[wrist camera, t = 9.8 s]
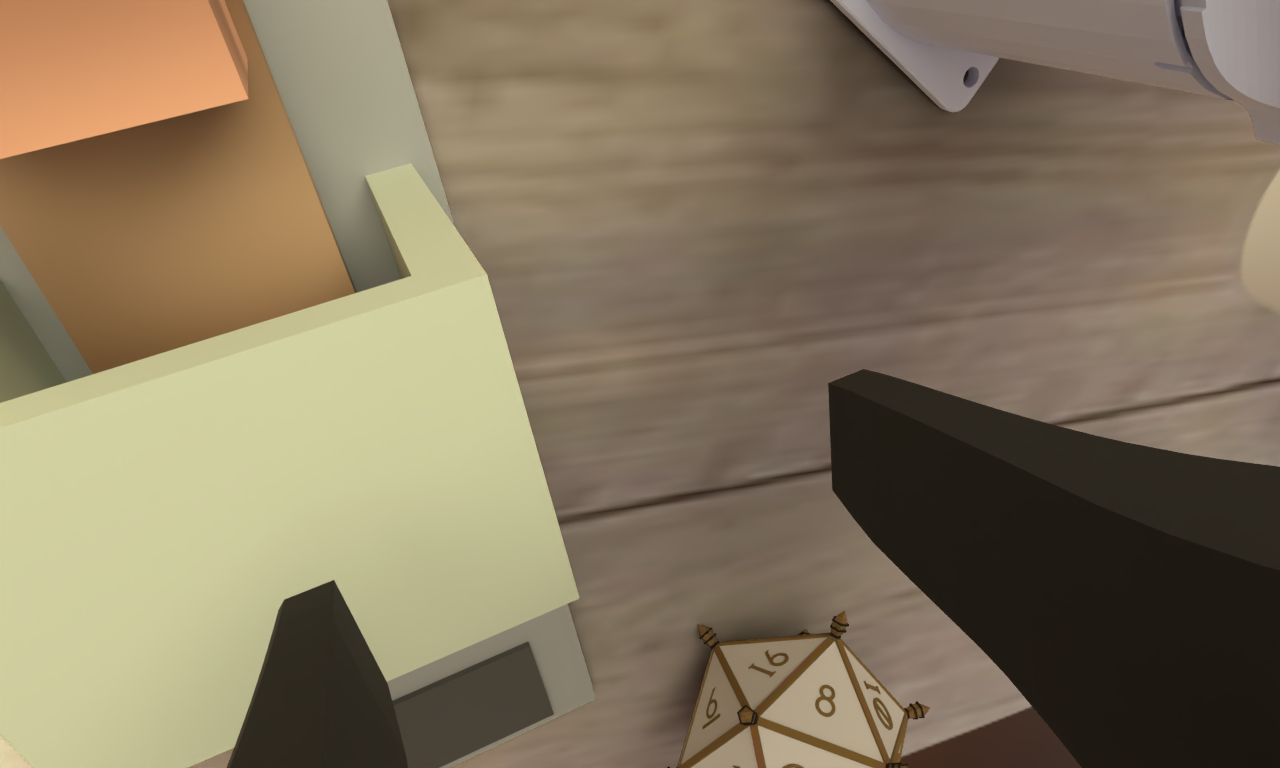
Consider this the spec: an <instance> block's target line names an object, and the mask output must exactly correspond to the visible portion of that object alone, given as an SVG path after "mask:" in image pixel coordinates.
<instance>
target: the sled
mask: <svg viewBox="0 0 1280 768" xmlns="http://www.w3.org/2000/svg"><path fill="white" fill-rule="evenodd" d="M0 226H1V227H2V229H3V230H4V232H5V234H6V235H7V237H8V238H9V240H10V242H11V243H12V245H13V246H14V248H15V250H16V251H17V253H18V254H19V256H20V258H21V259H22V261H23V262H24V264H25V266H26V267H27V269H28V271H29V272H30V274H31V275H32V277H33V279H34V280H35V282H36V283H37V285H38V287H39V288H40V290H41V291H42V293H43V295H44V296H45V298H46V299H47V301H48V303H49V304H50V306H51V307H52V309H53V311H54V312H55V314H56V315H57V317H58V319H59V320H60V322H61V323H62V325H63V327H64V328H65V330H66V331H67V333H68V335H69V336H70V338H71V339H72V341H73V343H74V344H75V346H76V347H77V349H78V351H79V352H80V354H81V355H82V357H83V359H84V360H85V362H86V363H87V365H88V367H89V368H90V370H91V371H92V373H93V374H96V373H99V372H102V371H105V370H109V369H112V368H115V367H118V366H122V365H125V364H128V363H131V362H135V361H138V360H141V359H144V358H148V357H151V356H154V355H157V354H160V353H164V352H167V351H170V350H173V349H177V348H180V347H183V346H186V345H190V344H193V343H196V342H199V341H202V340H206V339H209V338H212V337H215V336H219V335H222V334H225V333H228V332H232V331H235V330H238V329H241V328H245V327H248V326H251V325H254V324H257V323H261V322H264V321H267V320H270V319H274V318H277V317H280V316H283V315H287V314H290V313H293V312H296V311H300V310H303V309H306V308H309V307H312V306H316V305H319V304H322V303H325V302H329V301H332V300H335V299H338V298H342V297H345V296H348V295H351V294H355V293H357V292H356V289H355V287H354V284H353V281H352V279H351V276H350V274H349V271H348V269H347V266H346V263H345V261H344V258H343V256H342V253H341V251H340V248H339V245H338V243H337V240H336V238H335V235H334V233H333V230H332V227H331V225H330V222H329V220H328V217H327V214H326V212H325V209H324V207H323V204H322V202H321V199H320V196H319V194H318V191H317V189H316V186H315V184H314V181H313V178H312V176H311V173H310V171H309V168H308V166H307V163H306V160H305V158H304V155H303V153H302V150H301V147H300V145H299V142H298V140H297V137H296V135H295V132H294V129H293V127H292V124H291V122H290V119H289V117H288V114H287V111H286V109H285V106H284V104H283V101H282V99H281V96H280V93H279V91H278V88H277V86H276V83H275V80H274V78H273V75H272V73H271V70H270V68H269V65H268V62H267V60H266V57H265V55H264V52H263V50H262V47H261V44H260V42H259V39H258V37H257V34H256V32H255V29H254V26H253V24H252V21H251V19H250V16H249V13H248V11H247V8H246V6H245V3H244V1H243V0H0Z"/></svg>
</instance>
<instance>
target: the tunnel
mask: <svg viewBox="0 0 1280 768" xmlns="http://www.w3.org/2000/svg"><path fill="white" fill-rule="evenodd" d="M365 178H366V181H367V183H368V186H369V189H370V192H371V195H372V198H373V200H374V203H375V206H376V209H377V212H378V215H379V218H380V220H381V223H382V226H383V229H384V232H385V235H386V238H387V240H388V243H389V246H390V249H391V252H392V255H393V257H394V260H395V263H396V266H397V269H398V272H399V275H400V277H401V279H400V280H397V281H393V282H390V283H387V284H384V285H380V286H377V287H374V288H371V289H367V290H364V291H361V292H358V293H355V294H351V295H348V296H345V297H342V298H338V299H335V300H332V301H329V302H325V303H322V304H319V305H316V306H312V307H309V308H306V309H303V310H300V311H296V312H293V313H290V314H287V315H283V316H280V317H277V318H274V319H270V320H267V321H264V322H261V323H257V324H254V325H251V326H248V327H245V328H241V329H238V330H235V331H232V332H228V333H225V334H222V335H219V336H215V337H212V338H209V339H206V340H202V341H199V342H196V343H193V344H190V345H186V346H183V347H180V348H177V349H173V350H170V351H167V352H164V353H160V354H157V355H154V356H151V357H148V358H144V359H141V360H138V361H135V362H131V363H128V364H125V365H122V366H118V367H115V368H112V369H109V370H105V371H102V372H99V373H96V374H93V375H89V376H86V377H83V378H80V379H76V380H73V381H70V382H67V381H66V380H65V378H64V377H63V375H62V374H61V372H60V371H59V369H58V368H57V366H56V365H55V363H54V361H53V360H52V358H51V357H50V355H49V354H48V352H47V351H46V349H45V348H44V346H43V345H42V343H41V341H40V340H39V338H38V337H37V335H36V334H35V332H34V331H33V329H32V328H31V326H30V324H29V323H28V321H27V320H26V318H25V317H24V315H23V314H22V312H21V311H20V309H19V308H18V306H17V304H16V303H15V301H14V300H13V298H12V297H11V295H10V294H9V292H8V291H7V289H6V288H5V286H4V284H3V283H2V281H1V280H0V735H1V736H2V737H3V738H4V739H5V740H6V741H7V742H8V744H9V745H10V746H11V747H12V748H13V749H14V750H15V751H16V752H17V753H18V754H19V755H20V756H21V757H22V758H23V759H24V760H25V761H26V762H27V763H28V764H29V765H30V766H31V767H32V768H188V767H191V766H193V765H195V764H197V763H200V762H202V761H204V760H207V759H209V758H211V757H214V756H216V755H218V754H221V753H223V752H225V751H228V750H230V749H232V748H234V747H235V744H236V741H237V739H238V736H239V733H240V730H241V727H242V725H243V722H244V719H245V716H246V714H247V711H248V708H249V705H250V702H251V699H252V696H253V693H254V690H255V687H256V684H257V681H258V678H259V675H260V672H261V669H262V665H263V662H264V659H265V656H266V652H267V649H268V646H269V642H270V639H271V635H272V632H273V628H274V625H275V621H276V617H277V614H278V610H279V608H280V606H281V605H282V603H283V601H284V600H285V599H287V598H290V597H292V596H295V595H297V594H300V593H302V592H305V591H307V590H310V589H312V588H315V587H317V586H320V585H322V584H325V583H327V582H330V581H332V580H334V581H335V583H336V584H337V586H338V588H339V590H340V592H341V594H342V596H343V598H344V600H345V602H346V604H347V606H348V608H349V610H350V612H351V614H352V615H353V617H354V619H355V621H356V623H357V625H358V627H359V629H360V631H361V633H362V635H363V637H364V639H365V641H366V643H367V645H368V646H369V648H370V650H371V652H372V654H373V656H374V658H375V660H376V662H377V664H378V666H379V668H380V670H381V672H382V674H383V676H384V678H385V679H386V681H390V680H392V679H394V678H397V677H399V676H401V675H404V674H406V673H408V672H411V671H413V670H415V669H418V668H420V667H422V666H424V665H427V664H429V663H431V662H434V661H436V660H438V659H441V658H443V657H445V656H448V655H450V654H452V653H455V652H457V651H459V650H462V649H464V648H466V647H468V646H471V645H473V644H475V643H478V642H480V641H482V640H485V639H487V638H489V637H492V636H494V635H496V634H499V633H501V632H503V631H506V630H508V629H510V628H512V627H515V626H517V625H519V624H522V623H524V622H526V621H529V620H531V619H533V618H536V617H538V616H540V615H543V614H545V613H547V612H550V611H552V610H554V609H557V608H559V607H561V606H563V605H566V604H568V603H570V602H573V601H575V600H577V599H580V598H579V594H578V591H577V587H576V584H575V580H574V577H573V573H572V570H571V566H570V563H569V559H568V556H567V552H566V549H565V545H564V542H563V538H562V535H561V531H560V528H559V524H558V521H557V517H556V514H555V510H554V507H553V503H552V500H551V496H550V493H549V489H548V486H547V482H546V479H545V475H544V472H543V468H542V465H541V462H540V458H539V455H538V451H537V448H536V444H535V441H534V437H533V434H532V430H531V427H530V423H529V420H528V416H527V413H526V409H525V406H524V402H523V399H522V395H521V392H520V388H519V385H518V381H517V378H516V374H515V371H514V367H513V364H512V360H511V357H510V353H509V350H508V346H507V343H506V339H505V336H504V332H503V329H502V325H501V322H500V318H499V315H498V311H497V308H496V304H495V301H494V297H493V294H492V290H491V287H490V283H489V280H488V276H487V274H486V272H485V271H484V269H483V268H482V266H481V265H480V264H479V262H478V261H477V259H476V258H475V256H474V255H473V253H472V252H471V250H470V249H469V247H468V246H467V244H466V243H465V241H464V240H463V239H462V237H461V236H460V234H459V233H458V231H457V230H456V228H455V227H454V225H453V224H452V222H451V221H450V219H449V218H448V216H447V215H446V214H445V212H444V211H443V209H442V208H441V206H440V205H439V203H438V202H437V200H436V199H435V197H434V196H433V194H432V193H431V191H430V190H429V189H428V187H427V186H426V184H425V183H424V181H423V180H422V178H421V177H420V175H419V174H418V172H417V171H416V169H415V168H414V167H413V165H412V164H407V165H403V166H400V167H396V168H393V169H389V170H385V171H382V172H378V173H374V174H371V175H367V176H365Z"/></svg>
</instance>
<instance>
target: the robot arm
mask: <svg viewBox="0 0 1280 768" xmlns="http://www.w3.org/2000/svg"><path fill="white" fill-rule="evenodd" d="M830 1H831V2H832V3H833V4H834V5H835V6H836V7H837V8H838V9H839V10H840V11H841V12H842V13H843V14H844V15H846V16H847V17H848V18H849V19H850V20H851V21H852V22H853V23H854V24H855V25H856V26H857V27H858V28H859V29H860V30H861V31H862V32H863V33H864V34H865V35H866V36H867V37H868V38H869V39H870V40H871V41H872V42H873V43H874V44H875V45H876V46H877V47H878V48H879V49H880V50H881V51H882V52H883V53H884V54H885V55H886V56H887V57H888V58H890V59H891V60H892V61H893V62H894V63H895V64H896V65H897V66H898V67H899V68H900V69H901V70H902V71H903V72H904V73H905V74H906V75H907V76H908V77H909V78H910V79H911V80H912V81H913V82H914V83H915V84H916V85H917V86H918V87H919V88H920V89H921V90H922V91H923V92H924V93H925V94H926V95H927V96H928V97H929V98H930V99H931V100H932V101H933V102H935V103H936V104H937V105H938V106H939V107H940V108H941V109H943V110H945V111H949V112H958V111H960V110H962V109H964V108H965V106H966V105H967V104H968V103H969V102H970V100H971V99H972V97H973V96H974V94H975V93H976V92H977V90H978V89H979V87H980V86H981V84H982V83H983V81H984V80H985V79H986V77H987V76H988V74H989V73H990V71H991V70H992V68H993V67H994V66H995V64H996V63H997V61H998V60H999V58H1005V59H1010V60H1016V61H1021V62H1027V63H1032V64H1037V65H1043V66H1048V67H1054V68H1059V69H1064V70H1070V71H1075V72H1081V73H1086V74H1091V75H1097V76H1102V77H1108V78H1113V79H1118V80H1124V81H1129V82H1135V83H1140V84H1145V85H1151V86H1156V87H1162V88H1167V89H1172V90H1178V91H1183V92H1189V93H1194V94H1199V95H1205V96H1210V97H1216V98H1221V99H1227V100H1235V101H1237V102H1238V103H1240V104H1241V105H1243V106H1244V107H1245V108H1246V110H1247V111H1248V112H1249V114H1250V116H1251V119H1252V121H1253V128H1254V135H1255V138H1256V140H1259V141H1263V142H1268V143H1272V144H1277V145H1280V0H830ZM967 70H969V74H968V77H967V80H966V81H965V82H964V83H963V79H964V75H965V73H966V71H967ZM828 385H829V411H830V438H831V464H832V490H833V491H834V493H835V494H836V495H837V497H838V498H839V499H840V501H841V502H842V503H843V505H844V506H845V507H846V509H847V510H848V511H849V513H850V514H851V515H852V517H853V518H854V519H855V520H856V522H857V523H858V524H859V525H860V527H861V528H862V529H863V530H864V532H865V533H866V534H867V535H868V537H869V538H870V539H871V540H872V542H873V543H874V544H875V545H876V546H877V547H878V548H879V549H880V550H881V551H882V552H883V553H884V554H885V555H886V556H887V557H888V558H889V559H890V560H891V561H892V562H893V563H894V564H895V565H896V566H897V567H898V568H899V569H900V570H901V571H902V572H903V573H904V574H905V575H906V576H907V577H908V578H909V579H910V580H911V581H912V582H913V583H914V584H915V585H916V586H917V587H918V588H920V589H921V590H922V591H923V592H924V593H925V594H926V595H927V596H928V597H929V598H930V599H931V600H932V601H933V602H934V603H935V604H936V605H937V606H938V607H939V608H940V609H941V610H942V611H943V612H944V613H945V614H946V615H947V616H948V617H949V618H950V619H951V620H952V621H953V622H954V623H955V624H956V625H957V626H959V627H960V628H961V629H962V630H963V631H964V632H965V633H966V634H967V635H968V636H969V637H970V638H971V639H972V640H973V641H974V642H975V643H976V644H977V645H978V646H979V647H980V648H981V649H982V650H983V651H984V652H985V653H986V654H987V655H988V656H989V657H990V658H991V660H992V661H993V662H994V663H995V664H996V665H997V666H998V667H999V668H1000V669H1001V670H1002V671H1003V672H1004V673H1005V674H1006V676H1007V677H1008V678H1009V679H1010V680H1011V682H1012V683H1013V684H1014V685H1015V686H1016V688H1017V689H1018V690H1019V691H1020V692H1021V693H1022V695H1023V696H1024V697H1025V698H1026V699H1027V701H1028V702H1029V703H1030V704H1031V705H1032V707H1033V708H1034V709H1035V710H1036V711H1037V713H1038V714H1039V715H1040V716H1041V717H1042V718H1043V719H1044V721H1045V722H1046V723H1047V724H1048V726H1049V727H1050V728H1051V729H1052V730H1053V732H1054V733H1055V734H1056V735H1057V737H1058V738H1059V739H1060V741H1061V742H1062V743H1063V744H1064V745H1065V747H1066V748H1067V749H1068V750H1069V752H1070V753H1071V754H1072V756H1073V757H1074V758H1075V759H1076V761H1077V762H1078V763H1079V764H1080V766H1081V767H1082V768H1280V467H1277V466H1269V465H1261V464H1253V463H1245V462H1237V461H1230V460H1222V459H1215V458H1209V457H1202V456H1196V455H1189V454H1184V453H1178V452H1173V451H1168V450H1162V449H1157V448H1152V447H1147V446H1141V445H1136V444H1131V443H1126V442H1121V441H1117V440H1112V439H1108V438H1103V437H1099V436H1095V435H1091V434H1087V433H1083V432H1079V431H1075V430H1071V429H1067V428H1063V427H1059V426H1055V425H1051V424H1047V423H1044V422H1040V421H1037V420H1033V419H1029V418H1026V417H1022V416H1019V415H1015V414H1012V413H1008V412H1005V411H1002V410H998V409H995V408H992V407H988V406H985V405H982V404H979V403H975V402H972V401H969V400H966V399H962V398H959V397H956V396H953V395H950V394H946V393H943V392H940V391H937V390H934V389H931V388H927V387H924V386H921V385H918V384H915V383H911V382H908V381H905V380H902V379H898V378H895V377H891V376H888V375H884V374H881V373H877V372H873V371H869V370H865V369H863V370H860V371H858V372H855V373H853V374H850V375H848V376H845V377H843V378H840V379H838V380H835V381H833V382H830V383H828ZM227 768H408V765H407V757H406V753H405V749H404V745H403V741H402V737H401V733H400V729H399V725H398V721H397V717H396V713H395V709H394V706H393V702H392V698H391V694H390V690H389V686H388V683H387V681H386V679H385V678H384V676H383V674H382V672H381V670H380V668H379V666H378V664H377V662H376V660H375V658H374V656H373V654H372V652H371V650H370V648H369V646H368V645H367V643H366V641H365V639H364V637H363V635H362V633H361V631H360V629H359V627H358V625H357V623H356V621H355V619H354V617H353V615H352V614H351V612H350V610H349V608H348V606H347V604H346V602H345V600H344V598H343V596H342V594H341V592H340V590H339V588H338V586H337V584H336V583H335V581H334V580H332V581H330V582H327V583H325V584H322V585H320V586H317V587H315V588H312V589H310V590H307V591H305V592H302V593H300V594H297V595H295V596H292V597H290V598H287V599H285V600H284V601H283V603H282V605H281V606H280V608H279V610H278V614H277V617H276V621H275V625H274V628H273V632H272V635H271V639H270V642H269V646H268V649H267V652H266V656H265V659H264V662H263V665H262V669H261V672H260V675H259V678H258V681H257V684H256V687H255V690H254V693H253V696H252V699H251V702H250V705H249V708H248V711H247V714H246V716H245V719H244V722H243V725H242V727H241V730H240V733H239V736H238V739H237V741H236V744H235V747H234V750H233V753H232V755H231V758H230V761H229V763H228V766H227Z"/></svg>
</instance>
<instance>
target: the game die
mask: <svg viewBox="0 0 1280 768" xmlns="http://www.w3.org/2000/svg"><path fill="white" fill-rule="evenodd" d="M832 621H833V623H832V624H831V626H830V627H831V633H822V634H810V633H809V632H808V631H807V630H805V631H804V632H802V633H800V634H799V635H798V636H787V637H775V638H763V639H752V640H740V641H728V642H719V641H717V638H716V636H715V635H716V633H715V634H714V633H713V631H712V628H707V627H704V626H701V625H698V627H699V632H700V639H702V640H703V641H704V642H705V643H704V644H707V645H709V646H710V647H711V653H710V656H709V660H708V663H707V667H706V670H705V673H704V677H703V680H702V684H701V687H700V691H699V694H698V698H697V701H696V704H695V708H694V711H693V715H692V718H691V722H690V725H689V729H688V732H687V735H686V739H685V742H684V746H683V749H682V753H681V756H680V760H679V763H678V766H677V768H909V766H908V764H902V763H900V758H901V753H902V748H903V743H904V738H905V732H906V727H907V722H908V719H909V718H913V719H918V718H925V717H924V715H925V714H926V713H927V712H928V710H929V709H930V707H927V706H924V705H922V704H919V703H918V702H916V704H913V705H912V704H910V705H909V707H907V708H903V707H902V706H901V705H900V704H899V703H898V702H897V701H896V699H895V698H894V697H893V696H892V695H891V694H890V693H889V692H888V691H887V689H886V688H885V687H884V686H883V685H882V684H881V683H880V682H879V681H878V680H877V678H876V677H875V676H874V675H873V674H872V673H871V672H870V671H869V670H868V668H867V667H866V666H865V665H864V664H863V663H862V662H861V661H860V660H859V658H858V657H857V656H856V655H855V654H854V653H853V652H852V651H851V650H850V648H849V647H848V646H847V645H846V644H845V643H844V642H843V641H842V640H841V635H842V634H843V633H846V630H845V629H846V627H847V626H849V624H848V623H847V619H846V615H845V611H843V612H842V613H840V614H839V615H838V616H834V618H833V619H832ZM667 768H670V767H667Z"/></svg>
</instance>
